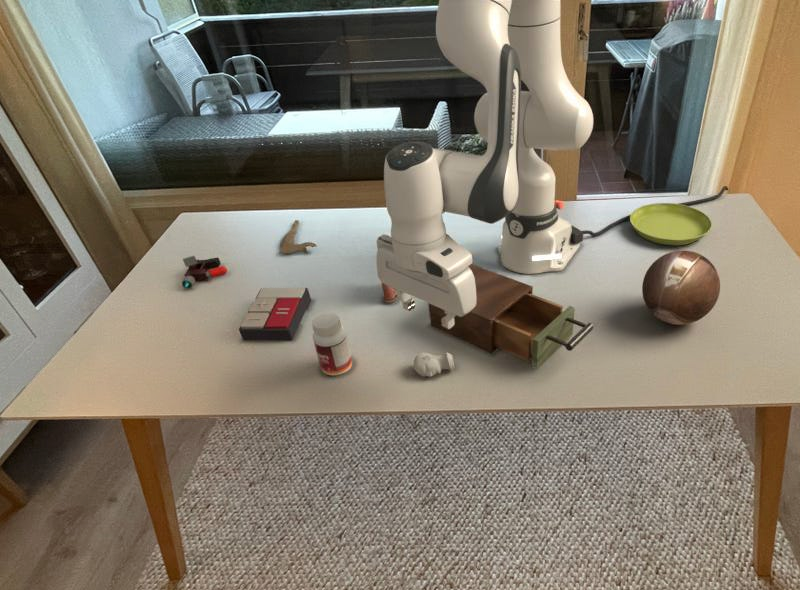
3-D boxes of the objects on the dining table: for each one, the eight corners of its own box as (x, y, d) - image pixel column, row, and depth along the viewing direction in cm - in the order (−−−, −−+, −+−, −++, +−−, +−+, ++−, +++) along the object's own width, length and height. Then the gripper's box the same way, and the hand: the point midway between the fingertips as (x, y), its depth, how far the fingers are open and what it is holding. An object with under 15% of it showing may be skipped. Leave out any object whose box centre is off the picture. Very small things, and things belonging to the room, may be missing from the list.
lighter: (395, 305, 128) (389, 266, 122) (380, 303, 129) (374, 265, 123) (405, 286, 134) (400, 248, 128) (392, 284, 135) (386, 247, 129)
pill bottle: (315, 368, 112) (301, 321, 105) (339, 352, 116) (328, 306, 109) (334, 381, 109) (322, 334, 102) (359, 364, 113) (348, 318, 106)
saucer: (618, 217, 158) (620, 206, 156) (690, 210, 159) (693, 200, 157) (643, 253, 142) (645, 242, 140) (723, 246, 143) (726, 235, 141)
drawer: (597, 344, 113) (600, 317, 109) (562, 380, 106) (564, 352, 101) (511, 310, 124) (511, 283, 120) (473, 340, 116) (472, 313, 112)
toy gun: (180, 292, 136) (172, 274, 133) (195, 266, 145) (188, 249, 142) (221, 288, 137) (214, 271, 133) (233, 263, 146) (227, 246, 143)
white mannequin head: (413, 381, 110) (417, 359, 113) (454, 382, 109) (457, 360, 112) (409, 370, 106) (413, 347, 109) (451, 371, 105) (454, 348, 108)
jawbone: (285, 263, 146) (282, 256, 144) (268, 232, 160) (265, 226, 159) (319, 251, 148) (316, 244, 147) (298, 222, 163) (296, 216, 161)
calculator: (236, 327, 118) (259, 285, 129) (243, 342, 121) (265, 300, 132) (288, 327, 117) (307, 284, 128) (293, 342, 120) (312, 300, 131)
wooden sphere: (631, 330, 118) (642, 268, 108) (643, 293, 128) (654, 232, 119) (707, 345, 113) (725, 281, 104) (713, 304, 124) (730, 243, 114)
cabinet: (531, 319, 122) (532, 286, 117) (491, 354, 114) (490, 320, 108) (472, 295, 130) (470, 263, 125) (430, 326, 122) (426, 293, 116)
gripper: (362, 238, 96) (375, 306, 105) (455, 274, 86) (460, 346, 95) (388, 224, 100) (398, 291, 109) (480, 257, 90) (483, 327, 99)
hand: (428, 317), depth 102 cm, fingers open, 8 cm apart
